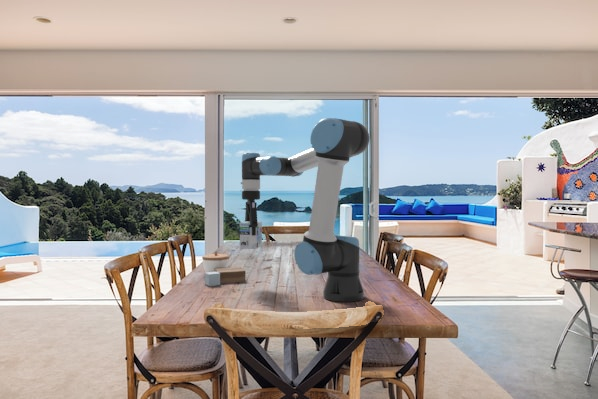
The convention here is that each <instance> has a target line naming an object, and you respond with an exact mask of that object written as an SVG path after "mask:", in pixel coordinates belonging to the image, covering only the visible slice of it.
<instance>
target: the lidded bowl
mask: <svg viewBox="0 0 598 399" xmlns="http://www.w3.org/2000/svg"><path fill="white" fill-rule="evenodd" d="M229 264H230V255H229V254H225V253H218V251H214V253H211V254H210V253H209V254H204V255H202V267H203V269H204V271H205V273H206V272H214V268H225V267H230V266H229Z"/></svg>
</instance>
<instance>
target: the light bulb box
mask: <svg viewBox="0 0 598 399" xmlns="http://www.w3.org/2000/svg"><path fill="white" fill-rule="evenodd" d="M257 223H258V226H257V243H255V244H250V227H249V225H250V221H247V222H245V221H243V222H239V249H241V250H242V249H245V250H256V249H258V248H261V247H263V246H262V245H263V244H262V243H263V238H262V237H263V233H262V232H263V231H262V230H263V227H262V226H263V222H262V221H257Z"/></svg>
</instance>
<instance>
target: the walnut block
mask: <svg viewBox="0 0 598 399" xmlns="http://www.w3.org/2000/svg"><path fill="white" fill-rule="evenodd" d="M214 272H218V273H220V284H229V283H230V284H231V283H232V284H233V283H243V282H244V283H246V270H245V269H244V268H242V266H228V267H225V268H214Z"/></svg>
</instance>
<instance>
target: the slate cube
mask: <svg viewBox="0 0 598 399" xmlns="http://www.w3.org/2000/svg"><path fill="white" fill-rule="evenodd" d="M204 285H206V286H208V287H215V286H221V283H220V273H218V272H206V271H205V272H204Z"/></svg>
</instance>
